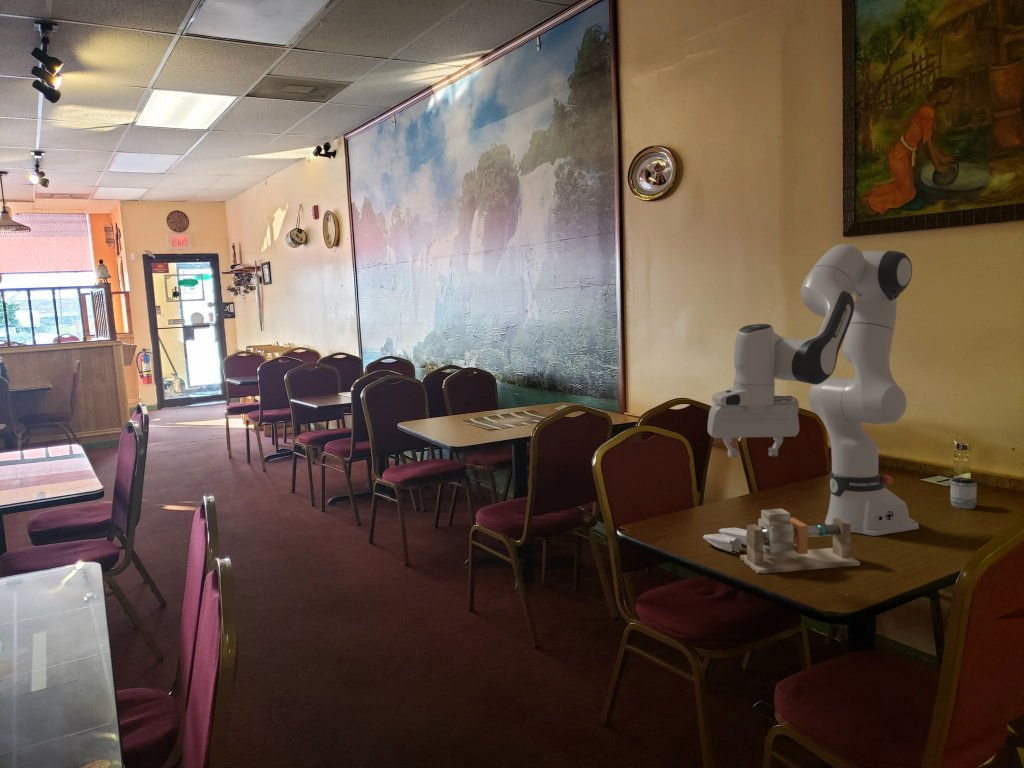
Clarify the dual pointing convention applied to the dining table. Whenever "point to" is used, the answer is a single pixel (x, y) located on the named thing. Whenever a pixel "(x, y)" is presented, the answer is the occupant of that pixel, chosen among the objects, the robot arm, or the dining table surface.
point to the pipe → (812, 531)
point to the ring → (800, 536)
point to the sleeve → (777, 533)
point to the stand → (812, 560)
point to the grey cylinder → (963, 493)
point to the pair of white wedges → (728, 539)
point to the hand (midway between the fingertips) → (752, 456)
